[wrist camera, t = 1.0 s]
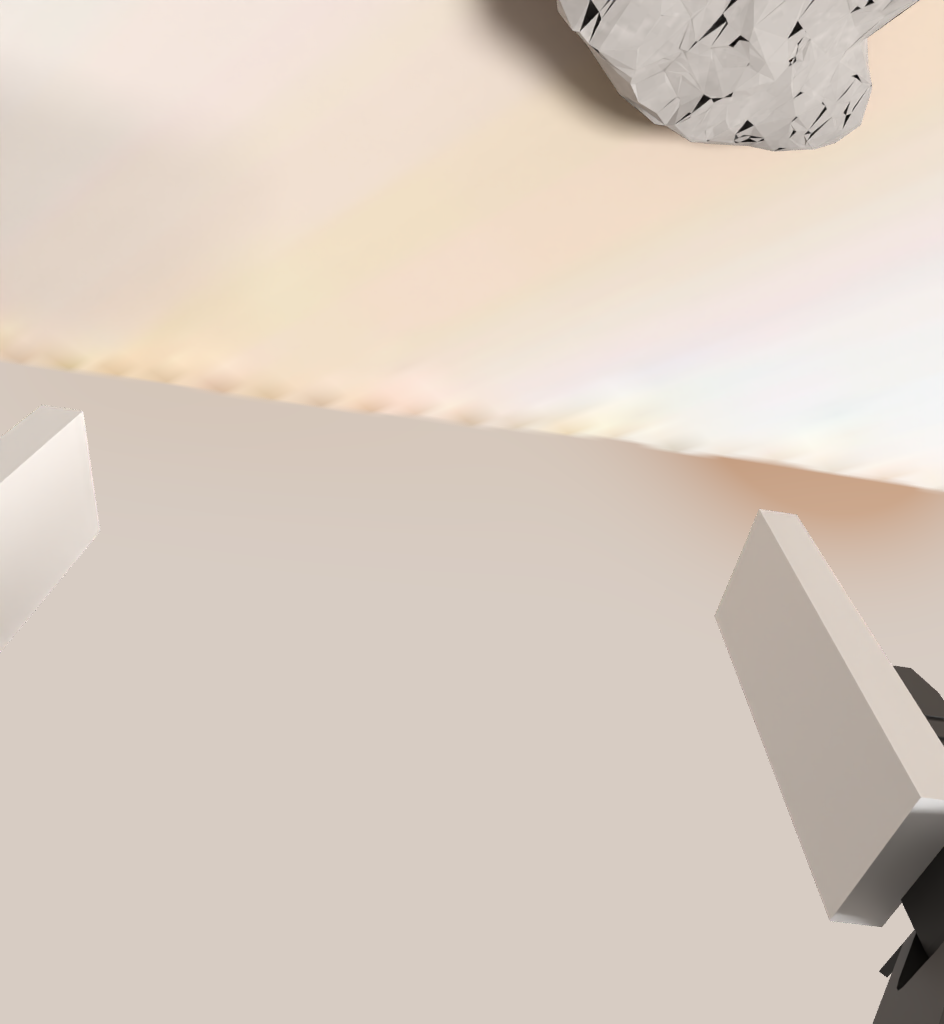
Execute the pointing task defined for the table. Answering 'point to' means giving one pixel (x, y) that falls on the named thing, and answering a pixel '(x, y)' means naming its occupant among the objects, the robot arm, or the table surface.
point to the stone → (739, 64)
